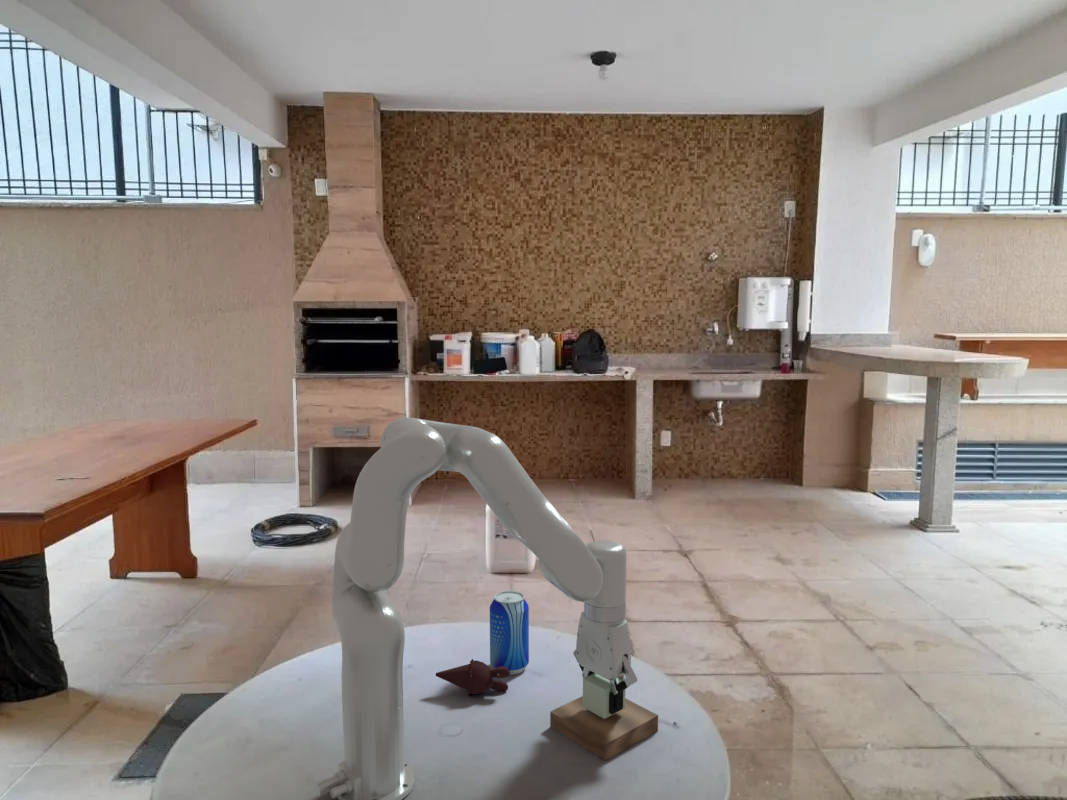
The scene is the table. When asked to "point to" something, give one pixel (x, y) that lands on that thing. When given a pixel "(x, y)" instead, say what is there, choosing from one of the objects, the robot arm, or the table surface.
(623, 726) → the walnut base
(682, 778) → the table surface
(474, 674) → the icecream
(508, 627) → the beer can
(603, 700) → the sage cube
